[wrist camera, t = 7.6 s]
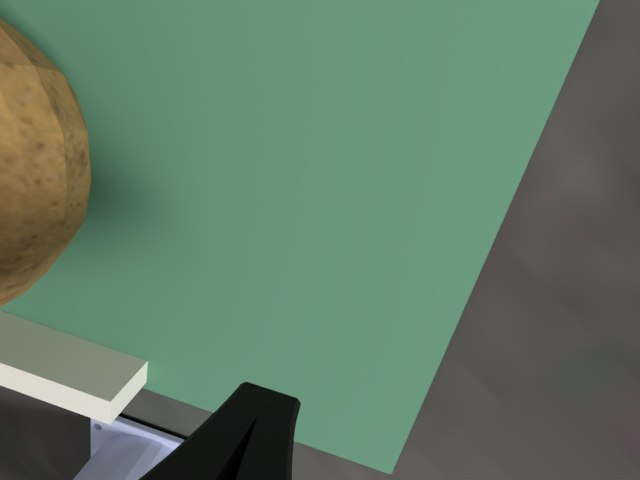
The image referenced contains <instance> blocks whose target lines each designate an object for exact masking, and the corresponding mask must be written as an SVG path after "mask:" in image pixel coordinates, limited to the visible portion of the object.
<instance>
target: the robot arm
mask: <svg viewBox="0 0 640 480" xmlns="http://www.w3.org/2000/svg"><path fill="white" fill-rule="evenodd" d="M300 406H301V403H300V401H299V400H298V398H295V397H292V396H289V395H286V394H283V393H280V392H277V391H274V390H271V389H268V388H265V387H262V386H259V385H256V384H252V383H249V382H244V383H242V384H240V385H239V387H238V388H237V389H236V390H235V391H234V392H233V393H232V395H231V396H230V397H229V398H228V399H227V400H226V401H225V402H224V403H223V404H222V405H221V406H220V407H219V408H218V409H217V410H216V411H215V412H214V413H213V414H212V415H211V416H210V417H209V418H208V419H207V420H206V421H205V422H204V423H203V424H202V425H201V426H200V427H199V428H198V429H197V430H195V431H194V432H193V433H192V434H191V435H190V436H189V437H188V438H187V439H186V440H184V439H181V438H178V437H176V436H173V435H170V434H167V433H164V432H162V431H159V430H156V429H153V428H150V427H148V426H145V425H142V424H139V423H136V422H134V421H131V420H128V419H125V418H123V417H120V416H117V417H116V418H115V420H114V421H113V422H112V423H111V424H110V425H109V424H106V423H103V422H101V421H98V420H95V419H92V418H91V458H90V460H89V461H88V462H87V463H86V464H85V466H84V467H83V468H82V469H81V471H80V472H79V473H78V474H77V475H76V477H75V478H74V479H73V480H292V454H293V443H294V434H295V426H296V421H297V417H298V414H299V410H300Z"/></svg>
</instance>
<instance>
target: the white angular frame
mask: <svg viewBox="0 0 640 480" xmlns="http://www.w3.org/2000/svg"><path fill="white" fill-rule="evenodd" d="M147 364H148V361H146V360H144V359H141V358H138V357H135V356H132V355H129V354H126V353H123V352H120V351H117V350H114V349H111V348H108V347H105V346H103V345H100V344H97V343H94V342H91V341H88V340H85V339H82V338H79V337H76V336H73V335H70V334H67V333H64V332H62V331H59V330H56V329H53V328H50V327H47V326H44V325H41V324H38V323H35V322H32V321H29V320H26V319H23V318H21V317H18V316H15V315H12V314H9V313H6V312H3V311H0V385H1V386H4V387H7V388H9V389H12V390H15V391H18V392H20V393H23V394H26V395H29V396H31V397H34V398H37V399H40V400H43V401H45V402H48V403H51V404H54V405H56V406H59V407H62V408H65V409H67V410H70V411H73V412H76V413H78V414H81V415H84V416H87V417H90V418H92V419H95V420H98V421H101V422H103V423H106V424H109V425H110V424H111V423H112V422H113V421H114V420H115V418H116V417H117V416H118V415H119V414H120V412H121V411H122V410H123V409H124V408H125V407H126V405H127V404H128V403H129V402H130V401H131V400H132V398H133V397H134V396H135V395H136V394H137V393H138V391H139V390H140V389H141V388H142V387H143V386H144V384H145V383H146V379H147Z"/></svg>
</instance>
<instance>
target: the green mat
mask: <svg viewBox="0 0 640 480" xmlns="http://www.w3.org/2000/svg"><path fill="white" fill-rule="evenodd" d="M599 1H600V0H0V18H1V19H2V20H4V21H5V22H6V23H8V24H9V25H10V26H12V27H13V28H14V29H16V30H17V31H18V32H20V33H21V34H22V35H24V36H25V37H26V38H28V39H29V40H30V41H31V42H32V43H33V44H34V45H35V46H36V47H37V48H38V49H39V50H40V51H41V52H42V53H43V54H44V55H45V56H46V57H47V58H48V59H49V60H50V61H51V62H52V63H53V64H54V65H55V66H56V67H57V68H58V69H59V70H60V71H61V72H62V73H63V75H64V76H65V78H66V79H67V81H68V82H69V84H70V86H71V87H72V89H73V90H74V92H75V94H76V96H77V99H78V102H79V105H80V107H81V110H82V113H83V116H84V119H85V122H86V125H87V131H88V144H89V157H90V170H91V184H90V191H89V197H88V204H87V211H86V217H85V220H84V222H83V223H82V225H81V226H80V228H79V229H78V231H77V233H76V234H75V236H74V237H73V239H72V240H71V242H70V244H69V245H68V247H67V248H66V249H65V250H64V252H63V253H62V254H61V255H60V257H59V258H58V259H57V260H56V262H55V263H54V264H53V265H52V267H51V268H50V269H49V270H48V272H47V273H46V274H45V275H43V276H42V277H41V278H40V279H39V280H38V281H37V282H36V283H35V284H34V285H33V286H32V287H31V288H30V289H29V290H27V291H26V292H25V293H23V294H22V295H20V296H18V297H17V298H15V299H13V300H12V301H10V302H8V303H7V304H5V305H3V306H2V307H0V311H3V312H6V313H9V314H12V315H15V316H18V317H21V318H23V319H26V320H29V321H32V322H35V323H38V324H41V325H44V326H47V327H50V328H53V329H56V330H59V331H62V332H64V333H67V334H70V335H73V336H76V337H79V338H82V339H85V340H88V341H91V342H94V343H97V344H100V345H103V346H105V347H108V348H111V349H114V350H117V351H120V352H123V353H126V354H129V355H132V356H135V357H138V358H141V359H144V360H146V361H148V364H147V379H146V383H145V384H144V386H143V387H142V388H144V389H147V390H150V391H153V392H156V393H159V394H161V395H164V396H167V397H170V398H173V399H176V400H179V401H181V402H184V403H187V404H190V405H193V406H196V407H199V408H202V409H204V410H207V411H210V412H213V413H214V412H215V411H216V410H217V409H218V408H219V407H220V406H221V405H222V404H223V403H224V402H225V401H226V400H227V399H228V398H229V397H230V396H231V395H232V393H233V392H234V391H235V390H236V389H237V388H238V387H239V385H240V384H242V383H244V382H249V383H252V384H256V385H259V386H262V387H265V388H268V389H271V390H274V391H277V392H280V393H283V394H286V395H289V396H292V397H295V398H298V400H299V401H300V403H301V406H300V410H299V414H298V417H297V421H296V426H295V434H294V441H296V442H299V443H302V444H305V445H308V446H310V447H313V448H316V449H319V450H322V451H325V452H328V453H331V454H333V455H336V456H339V457H342V458H345V459H348V460H351V461H354V462H356V463H359V464H362V465H365V466H368V467H371V468H374V469H376V470H379V471H382V472H385V473H388V474H391V473H392V471H393V469H394V467H395V464H396V462H397V460H398V458H399V455H400V453H401V451H402V448H403V446H404V444H405V442H406V439H407V437H408V435H409V433H410V430H411V428H412V426H413V423H414V421H415V419H416V417H417V414H418V412H419V410H420V408H421V405H422V403H423V401H424V398H425V396H426V394H427V392H428V389H429V387H430V385H431V383H432V380H433V378H434V376H435V373H436V371H437V369H438V367H439V364H440V362H441V360H442V358H443V355H444V353H445V351H446V348H447V346H448V344H449V342H450V339H451V337H452V335H453V333H454V330H455V328H456V326H457V323H458V321H459V319H460V317H461V314H462V312H463V310H464V308H465V305H466V303H467V301H468V298H469V296H470V294H471V292H472V289H473V287H474V285H475V282H476V280H477V278H478V276H479V273H480V271H481V269H482V267H483V264H484V262H485V260H486V257H487V255H488V253H489V251H490V248H491V246H492V244H493V242H494V239H495V237H496V235H497V232H498V230H499V228H500V226H501V223H502V221H503V219H504V217H505V214H506V212H507V210H508V207H509V205H510V203H511V201H512V198H513V196H514V194H515V192H516V189H517V187H518V185H519V182H520V180H521V178H522V176H523V173H524V171H525V169H526V167H527V164H528V162H529V160H530V157H531V155H532V153H533V151H534V148H535V146H536V144H537V142H538V139H539V137H540V135H541V132H542V130H543V128H544V126H545V123H546V121H547V119H548V117H549V114H550V112H551V110H552V107H553V105H554V103H555V101H556V98H557V96H558V94H559V91H560V89H561V87H562V85H563V82H564V80H565V78H566V76H567V73H568V71H569V69H570V66H571V64H572V62H573V60H574V57H575V55H576V53H577V51H578V48H579V46H580V44H581V41H582V39H583V37H584V35H585V32H586V30H587V28H588V26H589V23H590V21H591V19H592V16H593V14H594V12H595V10H596V7H597V5H598V3H599Z"/></svg>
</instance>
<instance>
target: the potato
mask: <svg viewBox="0 0 640 480" xmlns="http://www.w3.org/2000/svg"><path fill="white" fill-rule="evenodd" d="M90 184H91V170H90V157H89V144H88V131H87V125H86V122H85V119H84V116H83V113H82V110H81V107H80V105H79V102H78V99H77V96H76V94H75V92H74V90H73V89H72V87H71V86H70V84H69V82H68V81H67V79H66V78H65V76H64V75H63V73H62V72H61V71H60V70H59V69H58V68H57V67H56V66H55V65H54V64H53V63H52V62H51V61H50V60H49V59H48V58H47V57H46V56H45V55H44V54H43V53H42V52H41V51H40V50H39V49H38V48H37V47H36V46H35V45H34V44H33V43H32V42H31V41H30V40H29V39H28V38H26V37H25V36H24V35H22V34H21V33H20V32H18V31H17V30H16V29H14V28H13V27H12V26H10V25H9V24H8V23H6V22H5V21H4V20H2V19H1V18H0V307H2V306H3V305H5V304H7V303H8V302H10V301H12V300H13V299H15V298H17V297H18V296H20V295H22V294H23V293H25V292H26V291H27V290H29V289H30V288H31V287H32V286H33V285H34V284H35V283H36V282H37V281H38V280H39V279H40V278H41V277H42V276H43V275H45V274H46V273H47V272H48V270H49V269H50V268H51V267H52V265H53V264H54V263H55V262H56V260H57V259H58V258H59V257H60V255H61V254H62V253H63V252H64V250H65V249H66V248H67V247H68V245H69V244H70V242H71V240H72V239H73V237H74V236H75V234H76V233H77V231H78V229H79V228H80V226H81V225H82V223H83V222H84V220H85V217H86V211H87V204H88V197H89V191H90Z"/></svg>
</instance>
